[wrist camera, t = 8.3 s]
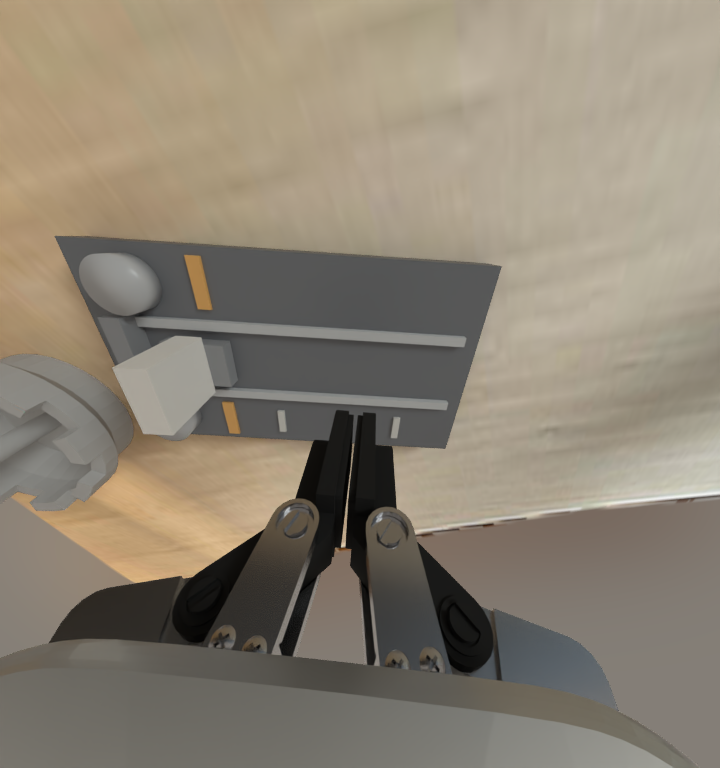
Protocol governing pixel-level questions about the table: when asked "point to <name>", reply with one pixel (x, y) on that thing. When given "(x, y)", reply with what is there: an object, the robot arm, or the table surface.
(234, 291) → the console
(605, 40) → the table surface
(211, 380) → the fader tab
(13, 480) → the flag stand
